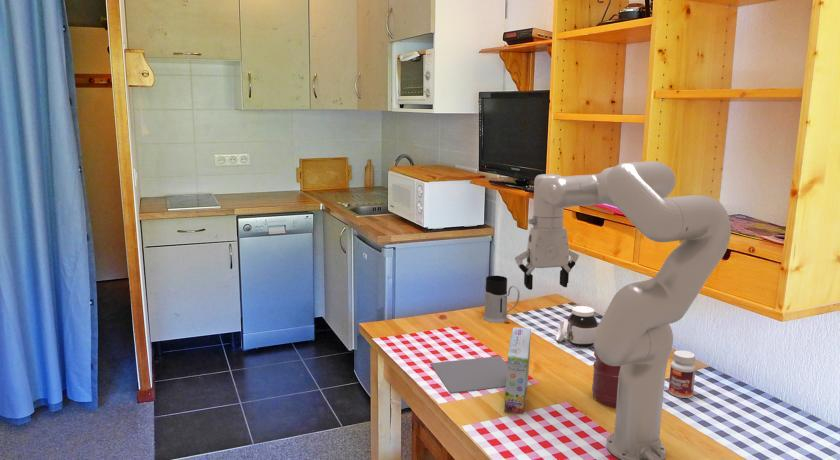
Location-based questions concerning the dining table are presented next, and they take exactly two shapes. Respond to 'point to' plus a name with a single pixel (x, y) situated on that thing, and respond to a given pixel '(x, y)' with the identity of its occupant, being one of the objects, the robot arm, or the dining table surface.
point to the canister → (605, 382)
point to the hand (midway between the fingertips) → (546, 287)
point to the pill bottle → (682, 374)
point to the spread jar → (579, 327)
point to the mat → (472, 374)
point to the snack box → (517, 370)
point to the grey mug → (497, 299)
